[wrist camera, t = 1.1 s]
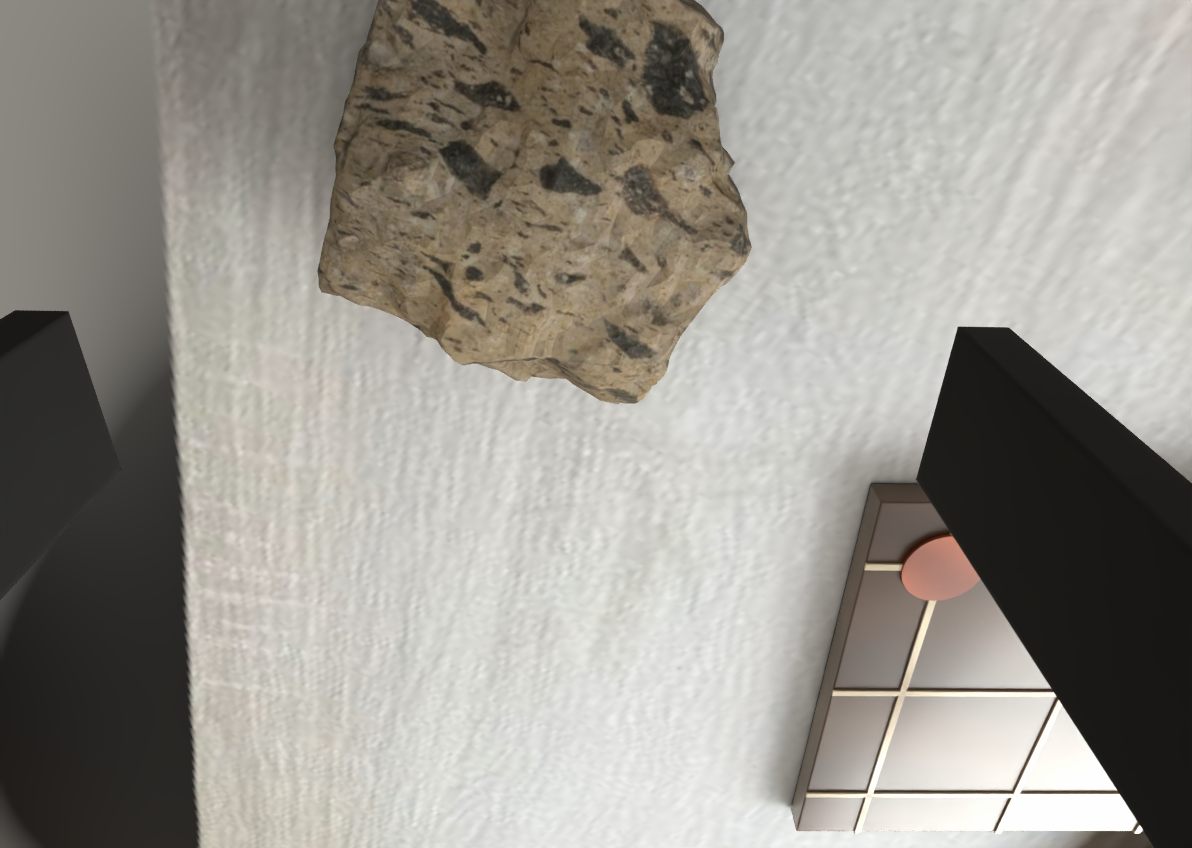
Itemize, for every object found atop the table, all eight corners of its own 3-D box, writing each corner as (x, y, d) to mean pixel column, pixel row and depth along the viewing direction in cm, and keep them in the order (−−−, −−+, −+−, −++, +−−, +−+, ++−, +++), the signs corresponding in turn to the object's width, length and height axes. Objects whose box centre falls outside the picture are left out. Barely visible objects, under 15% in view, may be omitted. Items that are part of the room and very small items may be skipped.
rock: (813, 71, 22) (862, 97, 19) (621, 396, 28) (629, 467, 24) (444, -146, 19) (414, -169, 16) (309, 261, 25) (262, 318, 21)
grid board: (870, 482, 30) (882, 504, 28) (1389, 488, 30) (1423, 510, 29) (790, 809, 40) (797, 835, 39) (1179, 809, 40) (1197, 835, 39)
